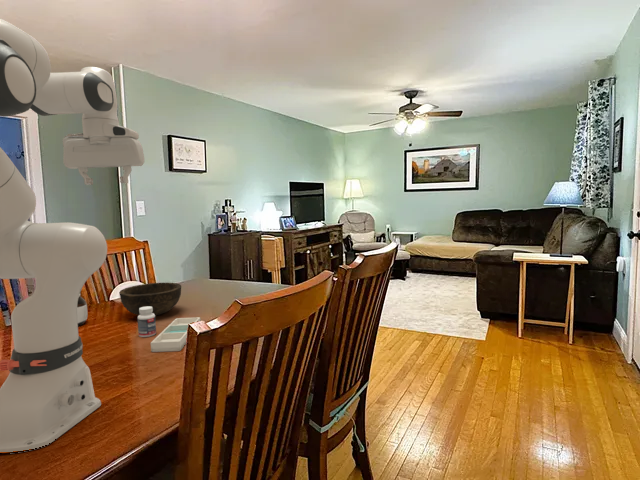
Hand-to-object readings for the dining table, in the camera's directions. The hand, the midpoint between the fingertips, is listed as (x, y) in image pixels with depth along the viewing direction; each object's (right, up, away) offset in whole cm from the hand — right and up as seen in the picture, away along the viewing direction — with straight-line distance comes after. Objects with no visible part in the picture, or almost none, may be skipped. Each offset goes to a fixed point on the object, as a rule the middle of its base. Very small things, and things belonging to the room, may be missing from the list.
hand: (106, 184), depth 111 cm
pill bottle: (+3, -46, +20) cm, 50 cm away
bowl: (-5, -44, +44) cm, 62 cm away
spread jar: (-30, -46, +31) cm, 63 cm away
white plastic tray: (+14, -46, +17) cm, 51 cm away
